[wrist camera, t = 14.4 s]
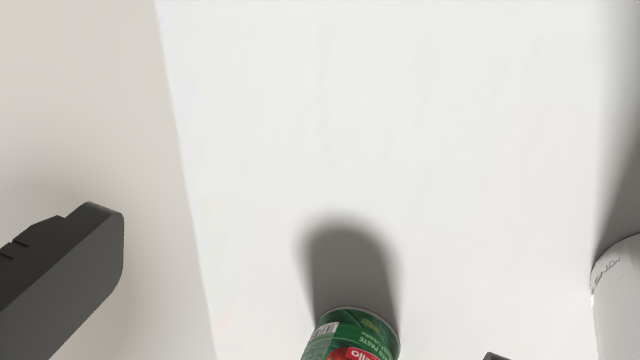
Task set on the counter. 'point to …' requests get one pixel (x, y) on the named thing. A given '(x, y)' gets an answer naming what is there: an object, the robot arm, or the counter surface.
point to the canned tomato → (352, 337)
